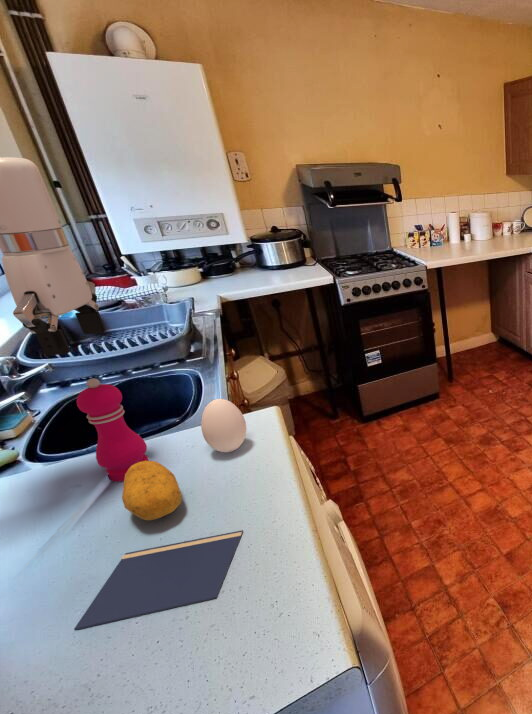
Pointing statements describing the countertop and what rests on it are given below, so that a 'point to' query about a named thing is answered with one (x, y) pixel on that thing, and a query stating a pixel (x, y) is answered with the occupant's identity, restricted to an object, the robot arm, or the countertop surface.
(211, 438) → the egg
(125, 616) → the napkin
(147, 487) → the potato
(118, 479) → the pepper mill
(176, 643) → the countertop surface
